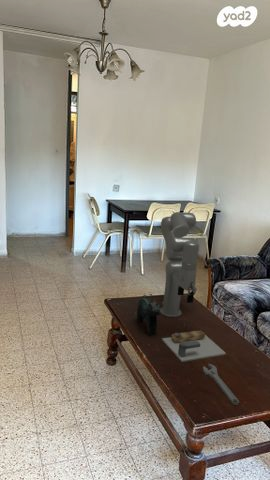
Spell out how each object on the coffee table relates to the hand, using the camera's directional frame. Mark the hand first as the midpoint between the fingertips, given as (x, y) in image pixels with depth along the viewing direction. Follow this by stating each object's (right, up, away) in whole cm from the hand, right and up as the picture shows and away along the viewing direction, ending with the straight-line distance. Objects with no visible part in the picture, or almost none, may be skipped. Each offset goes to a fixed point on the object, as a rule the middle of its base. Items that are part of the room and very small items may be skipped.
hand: (185, 298), depth 183 cm
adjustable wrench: (+9, -31, -33) cm, 46 cm away
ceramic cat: (-20, -17, +9) cm, 28 cm away
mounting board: (+3, -23, -6) cm, 24 cm away
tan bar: (+1, -20, -1) cm, 20 cm away
